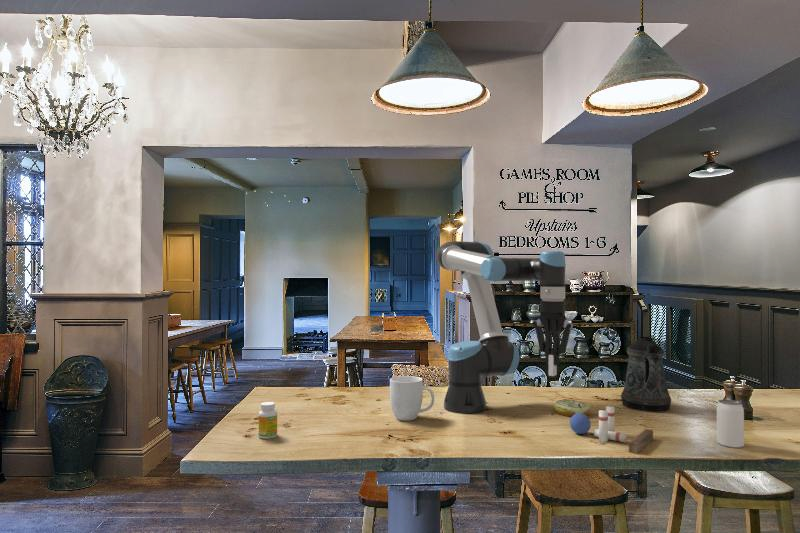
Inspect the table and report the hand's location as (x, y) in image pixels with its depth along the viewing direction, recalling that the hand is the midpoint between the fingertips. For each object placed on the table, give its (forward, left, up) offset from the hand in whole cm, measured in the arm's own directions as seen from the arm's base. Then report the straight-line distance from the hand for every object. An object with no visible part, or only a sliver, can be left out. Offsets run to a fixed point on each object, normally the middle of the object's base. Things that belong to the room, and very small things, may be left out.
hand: (552, 375), depth 163 cm
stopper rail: (+26, 0, -16) cm, 31 cm away
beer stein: (+16, +46, -17) cm, 51 cm away
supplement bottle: (-61, -63, -17) cm, 89 cm away
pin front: (+14, -1, -15) cm, 20 cm away
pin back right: (+17, -3, -16) cm, 24 cm away
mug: (-41, -21, -17) cm, 49 cm away
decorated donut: (-2, +20, -17) cm, 26 cm away
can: (+45, +17, -17) cm, 51 cm away
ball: (+9, -1, -13) cm, 16 cm away
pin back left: (+17, +3, -16) cm, 24 cm away
